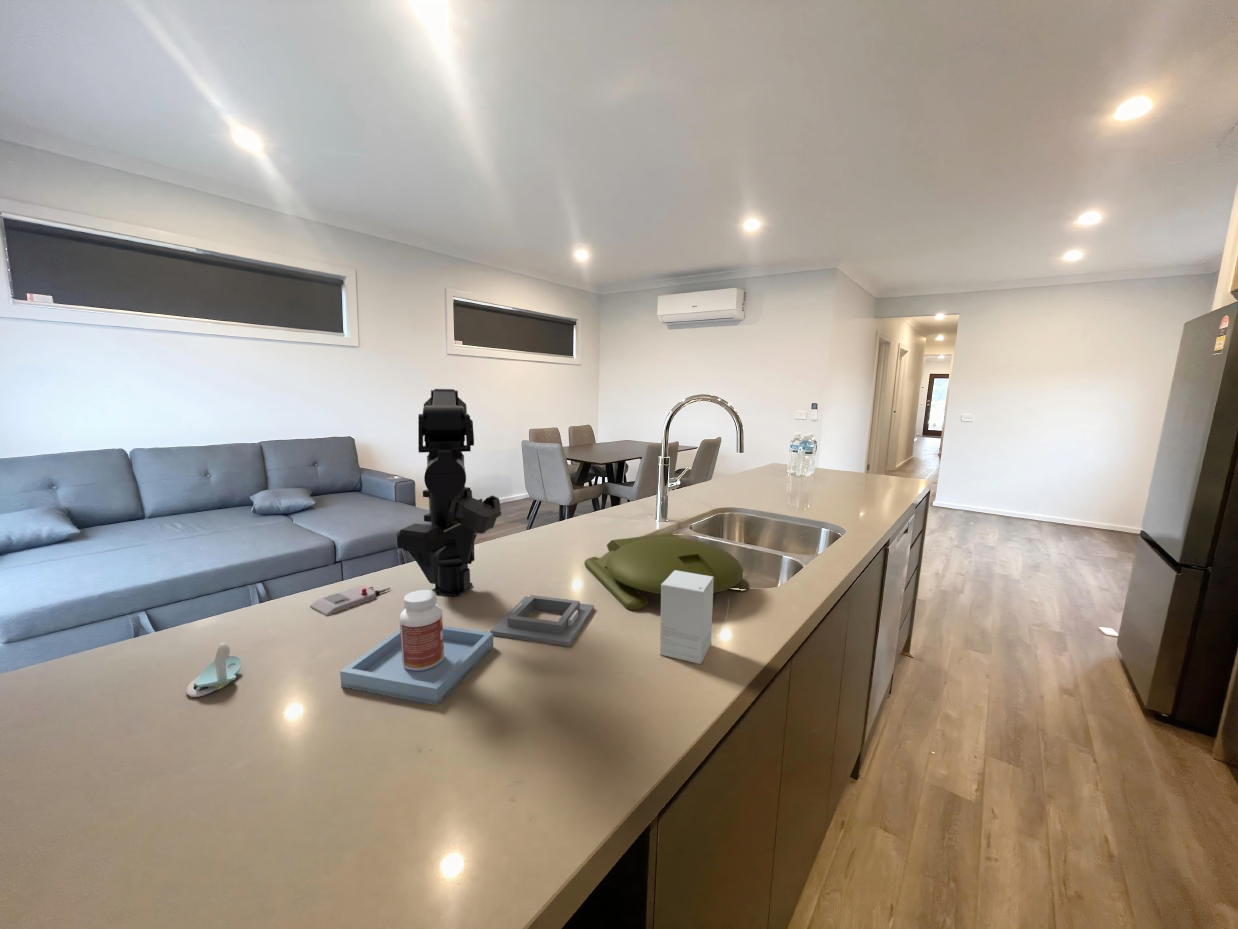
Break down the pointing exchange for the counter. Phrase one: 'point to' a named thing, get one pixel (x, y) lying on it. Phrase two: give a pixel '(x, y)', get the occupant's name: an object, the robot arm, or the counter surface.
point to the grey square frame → (544, 621)
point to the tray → (431, 686)
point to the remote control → (345, 599)
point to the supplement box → (686, 616)
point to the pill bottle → (421, 631)
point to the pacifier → (216, 673)
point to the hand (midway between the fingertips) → (450, 572)
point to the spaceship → (661, 566)
